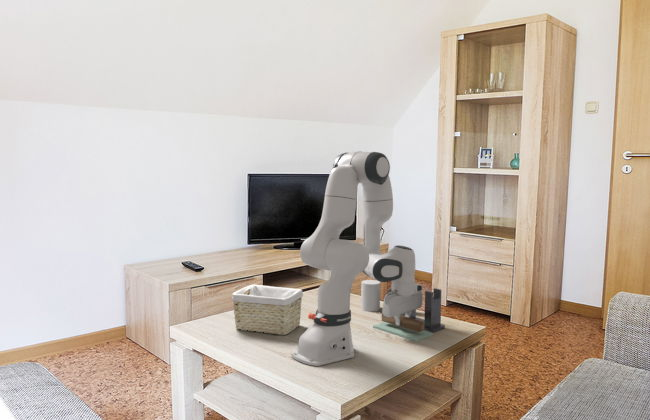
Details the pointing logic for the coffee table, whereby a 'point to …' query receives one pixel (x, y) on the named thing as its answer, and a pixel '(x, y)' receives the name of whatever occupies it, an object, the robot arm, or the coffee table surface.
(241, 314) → the storage basket
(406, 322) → the rail
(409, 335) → the mat
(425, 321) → the hook stand
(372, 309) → the white cylinder
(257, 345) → the coffee table surface
